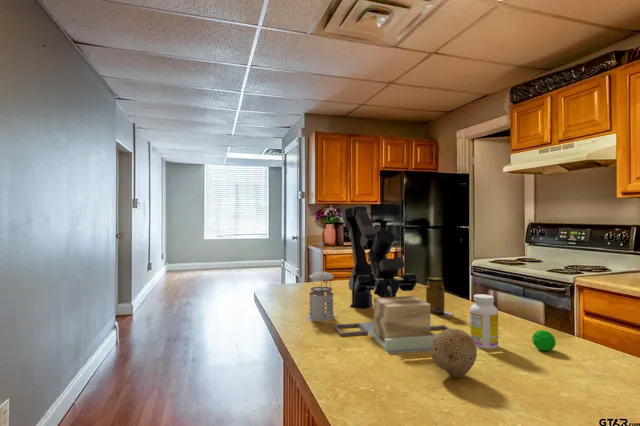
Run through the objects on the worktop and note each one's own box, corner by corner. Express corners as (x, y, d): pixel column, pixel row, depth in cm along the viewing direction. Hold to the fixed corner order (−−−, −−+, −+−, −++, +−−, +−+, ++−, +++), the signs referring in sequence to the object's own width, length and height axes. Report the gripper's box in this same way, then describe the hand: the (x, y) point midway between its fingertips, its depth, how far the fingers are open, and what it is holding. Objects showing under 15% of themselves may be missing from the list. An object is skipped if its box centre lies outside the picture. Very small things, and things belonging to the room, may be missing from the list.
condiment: (432, 309, 130) (432, 275, 130) (454, 314, 124) (454, 279, 124) (420, 312, 126) (420, 278, 126) (442, 318, 119) (442, 281, 119)
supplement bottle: (496, 342, 96) (496, 294, 96) (500, 351, 90) (499, 299, 90) (469, 340, 98) (469, 292, 99) (470, 348, 92) (470, 297, 92)
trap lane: (331, 326, 111) (331, 316, 111) (429, 320, 117) (429, 310, 117) (355, 358, 86) (355, 345, 86) (476, 348, 92) (476, 336, 92)
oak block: (374, 333, 103) (373, 297, 103) (413, 330, 105) (413, 295, 105) (387, 345, 93) (387, 306, 93) (430, 342, 95) (430, 304, 95)
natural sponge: (452, 390, 70) (451, 338, 70) (421, 372, 79) (421, 325, 79) (486, 381, 74) (486, 332, 74) (454, 364, 82) (454, 320, 82)
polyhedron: (527, 348, 92) (527, 329, 92) (541, 345, 94) (540, 327, 94) (546, 355, 88) (546, 335, 88) (560, 352, 90) (560, 332, 90)
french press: (301, 320, 117) (301, 242, 117) (315, 311, 127) (315, 240, 127) (330, 324, 113) (330, 243, 113) (342, 314, 124) (342, 240, 124)
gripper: (356, 248, 108) (368, 293, 97) (415, 247, 111) (433, 290, 101) (349, 271, 116) (360, 315, 105) (404, 269, 119) (420, 311, 108)
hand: (393, 307), depth 104 cm, fingers closed, pressing on oak block
